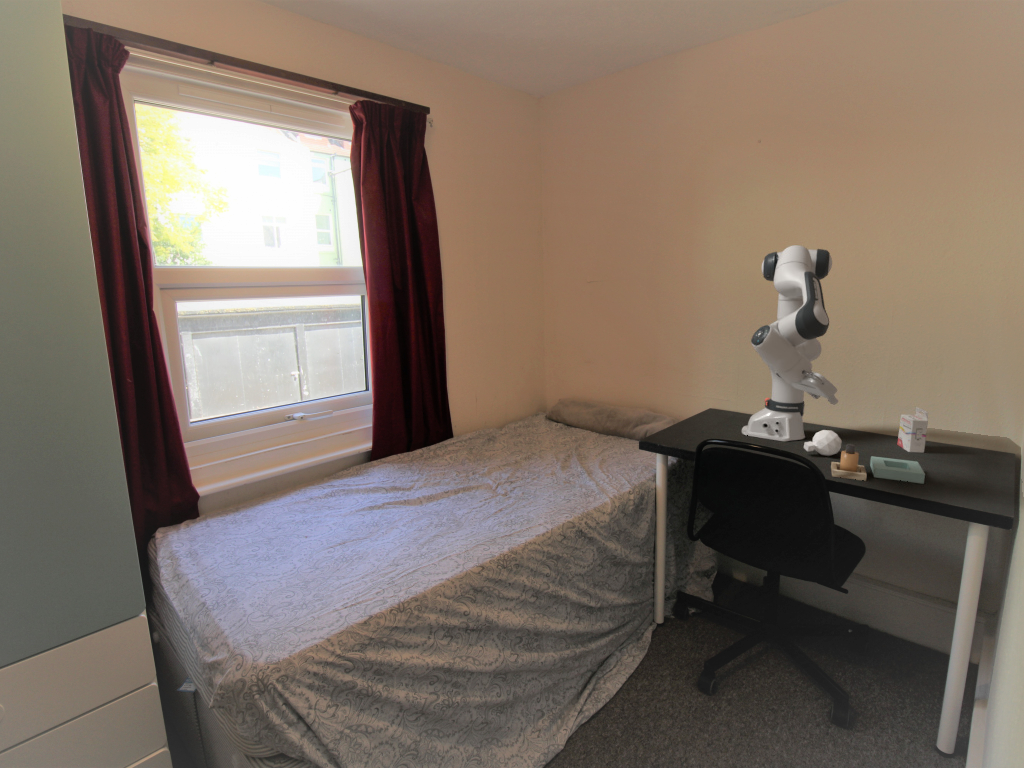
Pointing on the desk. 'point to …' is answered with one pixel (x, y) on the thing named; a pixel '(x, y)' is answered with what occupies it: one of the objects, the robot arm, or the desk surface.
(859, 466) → the square wooden frame
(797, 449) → the desk surface
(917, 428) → the ink cartridge box
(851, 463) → the plug
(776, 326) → the robot arm
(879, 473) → the socket block
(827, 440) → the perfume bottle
